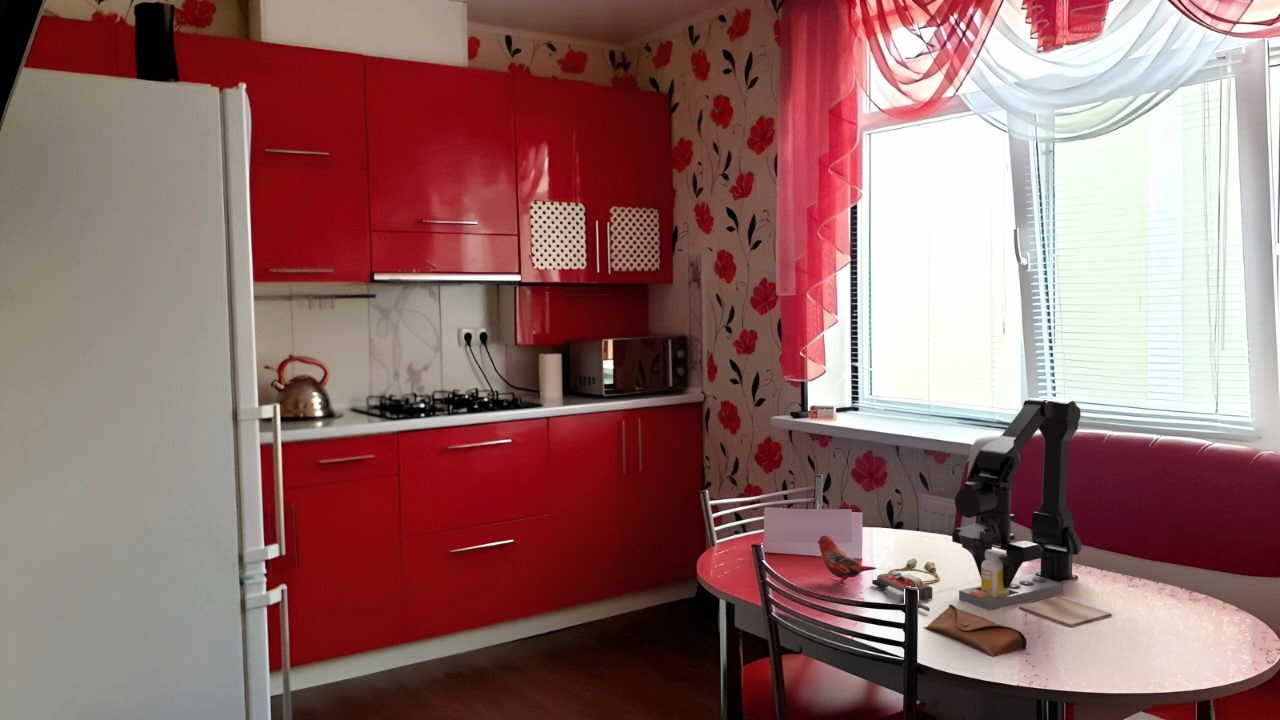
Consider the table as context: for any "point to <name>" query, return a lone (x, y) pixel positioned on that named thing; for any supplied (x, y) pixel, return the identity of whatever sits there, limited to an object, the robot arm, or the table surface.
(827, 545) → the decorative bird figurine
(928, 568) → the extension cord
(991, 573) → the supplement bottle
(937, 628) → the sunglasses case
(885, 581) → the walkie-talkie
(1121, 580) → the table surface
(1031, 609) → the walnut pad
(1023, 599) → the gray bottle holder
